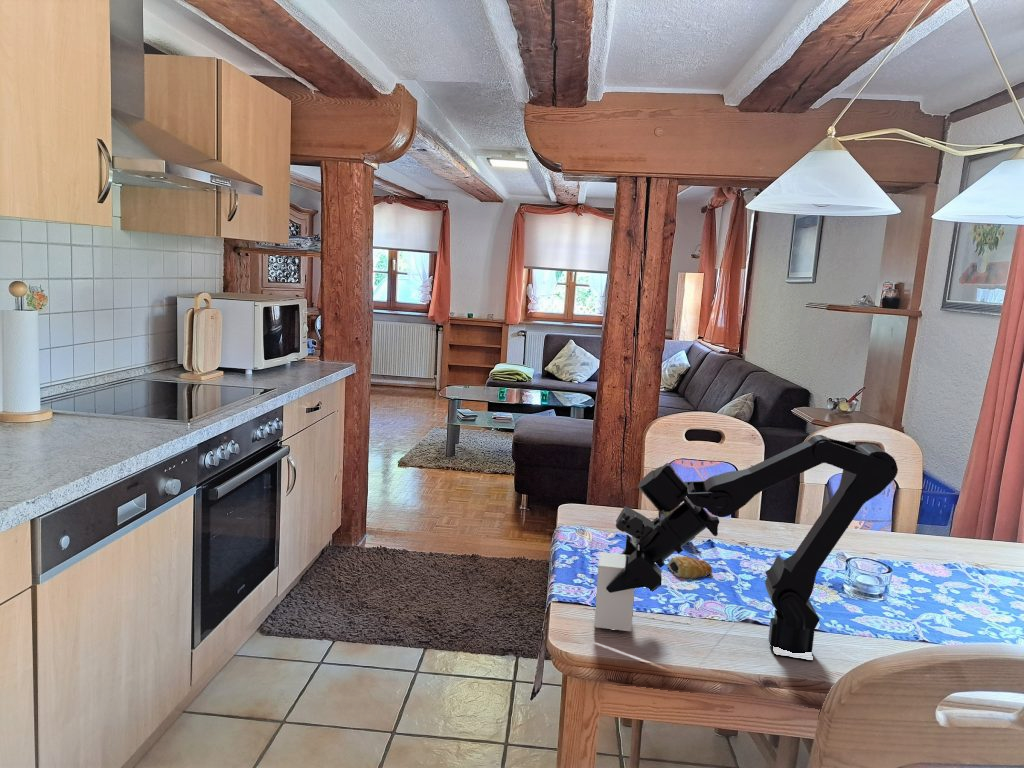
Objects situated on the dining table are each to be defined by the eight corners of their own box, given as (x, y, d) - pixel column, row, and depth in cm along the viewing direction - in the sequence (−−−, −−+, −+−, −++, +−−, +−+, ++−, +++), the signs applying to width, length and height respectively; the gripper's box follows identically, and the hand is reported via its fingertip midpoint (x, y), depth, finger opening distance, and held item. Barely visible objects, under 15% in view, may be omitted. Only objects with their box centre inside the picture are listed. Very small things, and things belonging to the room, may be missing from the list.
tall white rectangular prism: (631, 614, 133) (635, 555, 132) (631, 631, 127) (635, 569, 125) (596, 610, 134) (599, 551, 133) (594, 627, 128) (598, 565, 126)
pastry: (701, 566, 162) (703, 550, 161) (718, 579, 156) (720, 562, 155) (664, 569, 159) (665, 553, 158) (679, 582, 153) (681, 565, 152)
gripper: (644, 481, 136) (582, 531, 139) (646, 512, 117) (574, 569, 121) (683, 525, 136) (620, 574, 139) (691, 563, 117) (618, 618, 121)
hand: (608, 582), depth 130 cm, fingers closed on tall white rectangular prism, 6 cm apart
